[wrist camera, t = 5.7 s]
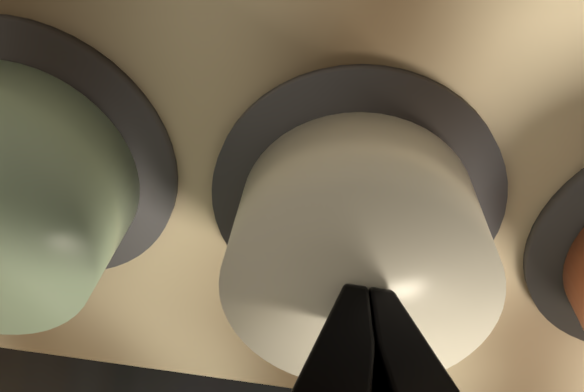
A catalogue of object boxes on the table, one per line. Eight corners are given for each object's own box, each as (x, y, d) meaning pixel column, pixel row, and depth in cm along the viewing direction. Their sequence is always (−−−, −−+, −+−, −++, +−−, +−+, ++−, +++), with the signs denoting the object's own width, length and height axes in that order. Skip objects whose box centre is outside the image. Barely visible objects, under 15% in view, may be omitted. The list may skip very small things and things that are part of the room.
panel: (1015, -118, 9) (1203, -108, 7) (619, 380, 17) (655, 448, 15) (-154, -271, 9) (-291, -302, 7) (14, 295, 17) (-28, 352, 15)
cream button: (509, 131, 9) (554, 208, 7) (438, 311, 12) (456, 402, 10) (248, 95, 9) (222, 162, 7) (236, 283, 12) (215, 369, 10)
